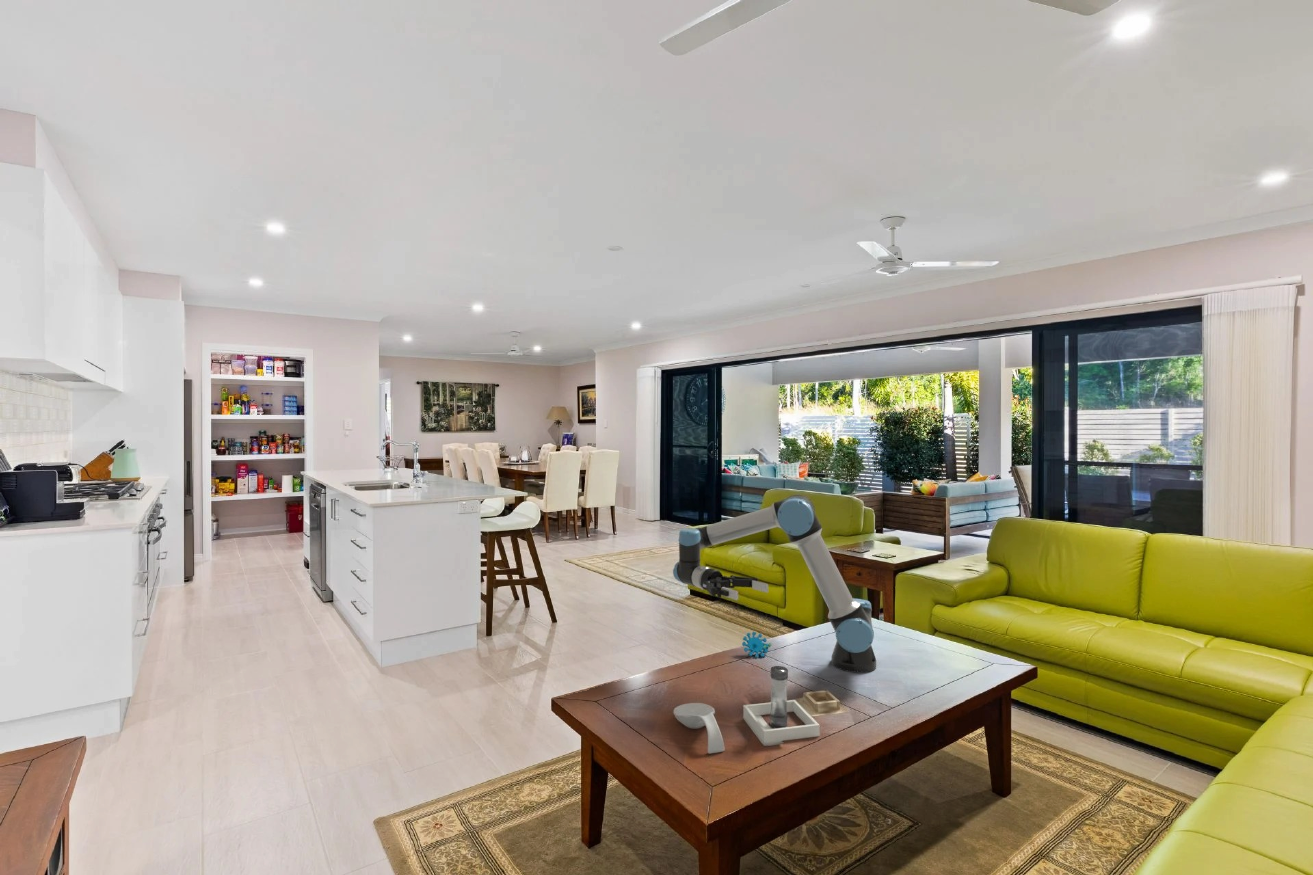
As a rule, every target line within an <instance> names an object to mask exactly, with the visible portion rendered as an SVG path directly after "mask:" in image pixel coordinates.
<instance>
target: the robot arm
mask: <svg viewBox="0 0 1313 875" xmlns="http://www.w3.org/2000/svg"><path fill="white" fill-rule="evenodd" d="M777 527H778V528H780V529H781V530H783V532H784V533H785V534H786V536H787V537H788V540H789V542H790V543H791V544H793V545H796V546H797V548H798V549H799V552H800V554H801V556H802V558H803V559H804V562H805V564H806V566H807V568H808V570H809V572H810V574H811V576H812V578H813V580H814V582H815V584H816V586H817V588H818V590H819V592H820V594H821V595H822V597H823V600H824V602H825V604H826V605H827V607H828V611H829V612H828V615H827V618H828V620H829V622H830V624H831V625H832V628H833V630H834V632H835V638H836V643H835V645H834V648H833V651H832V653H831V664H832V665H833V666H834V667H835V668H837V669H839V670H843V671H845V672H851V673H866V672H872V671H874V670H876V669H877V659H876V656H875V652H874V648H873V646H872V644H873V641H874V638H875V632H874V629H873V623H872V611H873V609H872V603H871V602H870V601H869V600H867V599H863V598H862V599H861V598H854V597H852V594H851V592H850V590H849V588H848V586H847V584H846V582H845V581H844V578H843V576H842V574H841V572H840V571H839V568H838V567H837V565H836V562H835V560H834V558H833V557H832V556H833V555H831V553H830V551H829V549H828V547H827V545H826V542H825V541H824V539H823V536H822V534H821V533H822V530H823V527H822V525H821V523H820V520H819V519H818V517H817V515H816V509H815V504H814V503H813V502H812V500H811V499H810V498H809V497H807V496H805V495H803V494H792V495H790V496H788V497H786V498H784V499H781V500H778V501H775V502H773V503H772V504H771V506H769V507H768V506H767V507H765V508H762V509H757V510H755V511H751V512H749V513H745V514H741V515H738V516H735V517H732V518H728V519H726V520H722V521H721V520H720V521H719V522H715V523H711V524H710V525H709V524H708V525H707V526H705V525H704V526H701V527H695V528H684V529H680V530H679V533H678V551H679V552H678V554H679V555H678V559H679V560H678V561H677V562H676V563H675V564H674V568H673V569H672V574H673V577H674V579H675V580H676V581H678V582H680V583H682V584H684V585H689V586H692V587H696V588H699V589H701V591H703V590H706V591H707V592H708V593H709V594H710V595H711V596H712V597H715V596H716V595H717V598H718V599H721V598H722V597H725V598H728V599H732V600H734V601H738V600H739V591H738V590H735V588H751V589H752V590H756V591H759V592H761V593H762V592H763V593H765V594H766V593H767V594H768V593H769V584H768V583H765V582H762V581H758V580H759V579H758V578H756V577H754V576H753V577H746V576H737V575H730V576H726V575H723V574H722V572H721V571H720V570H718V569H715V568H711V567H708V566H704V565H701V550H703V549H705V548H708V547H712V546H715V545H719V544H721V543H726V542H728V541H732V540H736V539H740V538H743V537H746V536H749V535H753V534H757V533H760V532H764V531H767V530H770V529H774V528H777Z"/></svg>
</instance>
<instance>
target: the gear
mask: <svg viewBox="0 0 1313 875" xmlns="http://www.w3.org/2000/svg"><path fill="white" fill-rule="evenodd" d="M756 635H757V632H755V631H752V637H751V632H748V633H746V635H745V636H743V637H742V640H743V641H742V644H741V645H742V646H743V647H744V648H743V651H744V652H745V653H747V652H749V653H748V656H749V657H752V656H753V654H754V653H756V654H755V655H754V658H755V659H758V658H759V657H761V658H764V657H765V654H767V653H768V652H769V650H768V649H769V648H770V647H771V646H772V643H771V642H768V643H766V642H767V638H766V637H764V638H762V637H763V635H762V633H758V635H757V636H756ZM759 653H760V656H759Z"/></svg>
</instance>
